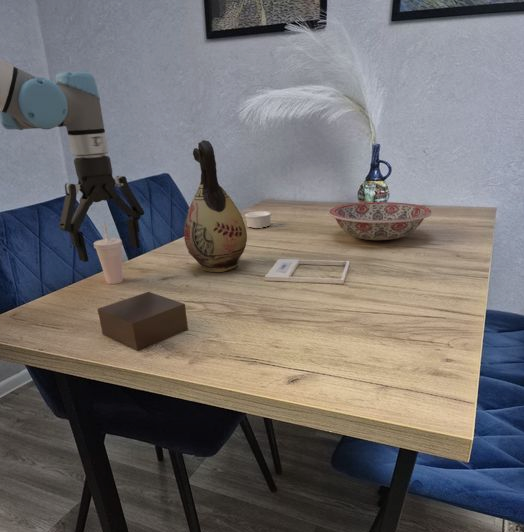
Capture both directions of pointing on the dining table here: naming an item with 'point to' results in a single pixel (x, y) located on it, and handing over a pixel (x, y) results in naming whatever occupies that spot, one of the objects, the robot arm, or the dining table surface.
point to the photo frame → (288, 266)
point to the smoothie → (110, 258)
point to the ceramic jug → (213, 219)
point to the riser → (143, 320)
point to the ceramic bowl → (379, 219)
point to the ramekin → (258, 219)
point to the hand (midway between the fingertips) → (110, 253)
